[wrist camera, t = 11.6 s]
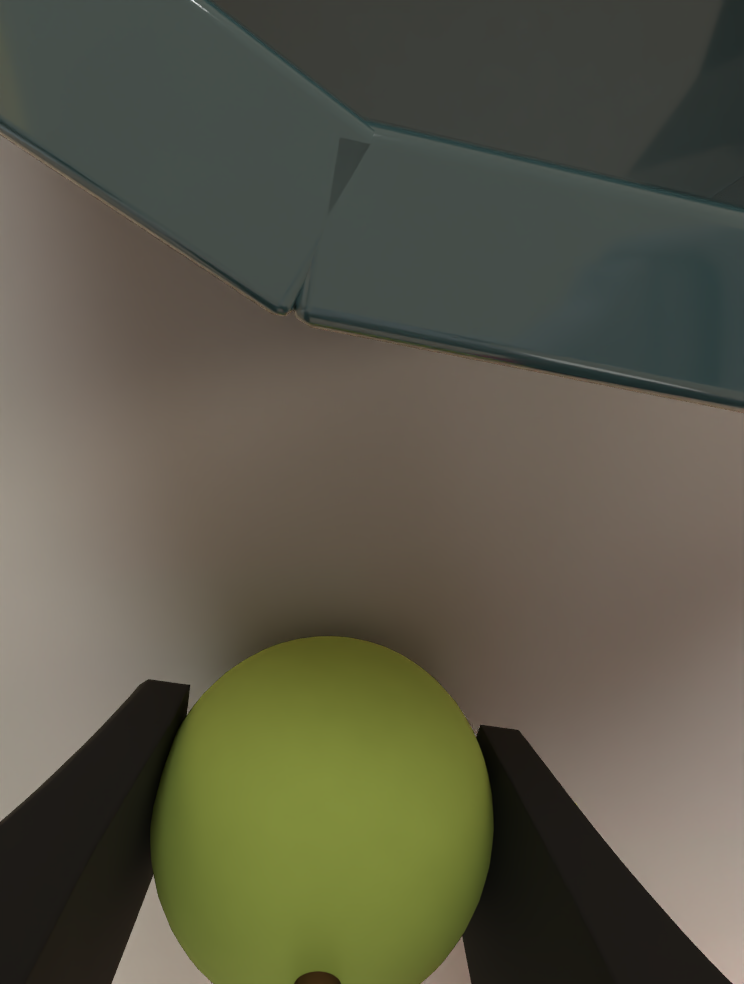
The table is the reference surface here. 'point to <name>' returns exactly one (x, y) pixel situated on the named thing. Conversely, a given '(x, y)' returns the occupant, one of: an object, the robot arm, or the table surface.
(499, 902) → the robot arm
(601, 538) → the table surface
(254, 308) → the table surface
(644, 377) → the pot
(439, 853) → the guava
